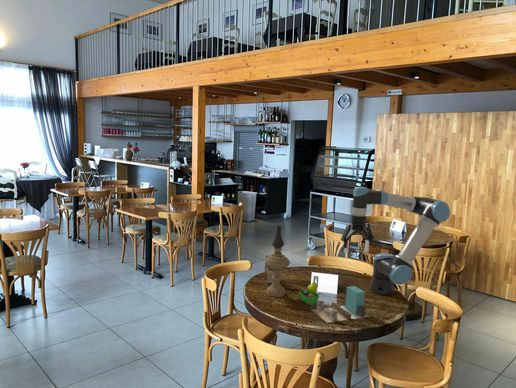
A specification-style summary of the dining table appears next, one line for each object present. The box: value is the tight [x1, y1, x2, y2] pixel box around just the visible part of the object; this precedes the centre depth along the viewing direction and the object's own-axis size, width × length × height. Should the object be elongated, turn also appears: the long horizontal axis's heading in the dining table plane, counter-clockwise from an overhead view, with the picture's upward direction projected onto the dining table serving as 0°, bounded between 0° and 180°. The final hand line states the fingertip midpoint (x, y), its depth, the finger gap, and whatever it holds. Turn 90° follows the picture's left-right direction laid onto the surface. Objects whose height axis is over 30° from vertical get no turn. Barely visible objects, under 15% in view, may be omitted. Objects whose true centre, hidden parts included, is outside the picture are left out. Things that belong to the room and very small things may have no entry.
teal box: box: [345, 285, 366, 315], centre depth 216 cm, size 5×9×12 cm, turn 22°
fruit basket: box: [298, 281, 320, 306], centre depth 227 cm, size 11×9×11 cm
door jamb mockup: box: [311, 296, 371, 324], centre depth 213 cm, size 26×16×6 cm, turn 112°
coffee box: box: [263, 254, 281, 284], centre depth 257 cm, size 9×6×16 cm
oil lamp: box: [264, 225, 291, 298], centre depth 236 cm, size 15×15×40 cm
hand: (356, 252), depth 227 cm, fingers open, 13 cm apart
